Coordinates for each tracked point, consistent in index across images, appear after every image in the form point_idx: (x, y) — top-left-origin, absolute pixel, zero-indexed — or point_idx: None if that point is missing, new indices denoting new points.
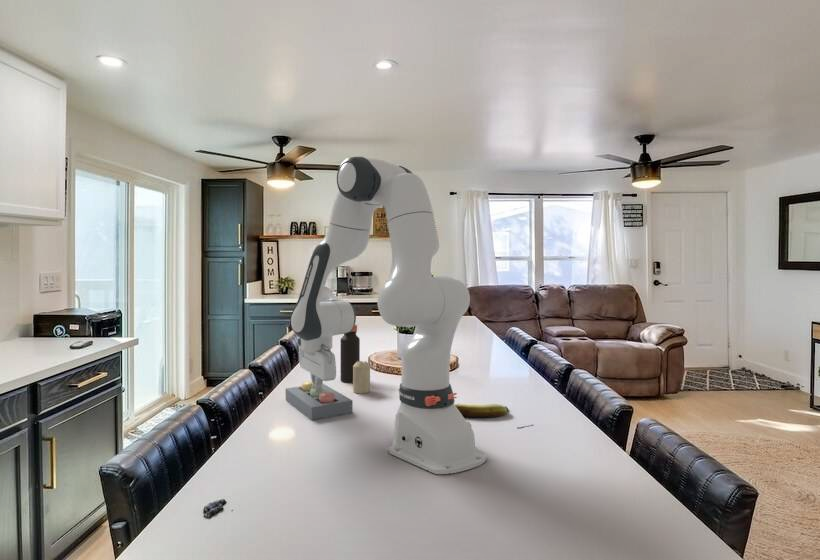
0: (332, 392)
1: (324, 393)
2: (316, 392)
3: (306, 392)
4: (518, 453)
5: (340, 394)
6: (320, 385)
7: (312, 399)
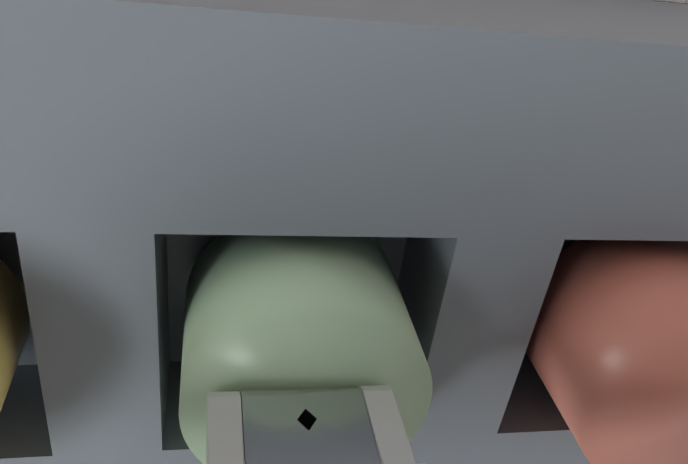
0: (370, 128)
1: (637, 420)
2: None
3: (111, 439)
4: None
5: (584, 66)
6: (404, 455)
7: (478, 454)
